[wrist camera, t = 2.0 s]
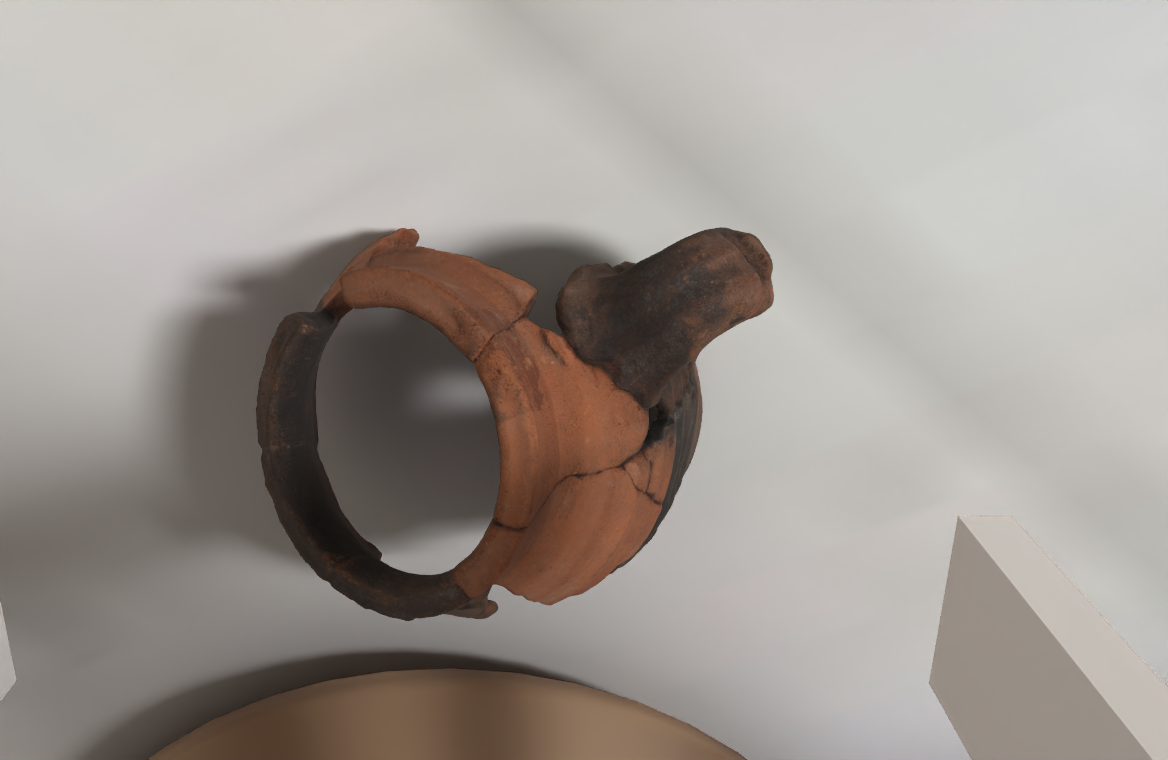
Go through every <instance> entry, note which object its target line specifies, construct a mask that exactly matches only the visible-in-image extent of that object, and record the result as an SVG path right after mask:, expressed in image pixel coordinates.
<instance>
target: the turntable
mask: <svg viewBox="0 0 1168 760" xmlns="http://www.w3.org/2000/svg"><path fill="white" fill-rule="evenodd" d="M148 760H747V759H745V758H744V757H743V756H742V755H740V754H739V753H738V752H736V751H734V750H733V749H731V748H729V747H727V746H726V745H724V744H722V743H721V742H719V741H717V740H715V739H714V738H712V737H710V736H709V735H707V734H705V733H703V732H702V731H700V730H698V729H697V728H695V727H693V726H691V725H690V724H688V723H685V722H683V721H681V720H678V719H676V718H674V717H671V716H669V715H667V714H664V713H662V712H660V711H657V710H655V709H653V708H650V707H648V706H646V705H643V704H641V703H639V702H636V701H633V700H630V699H627V698H623V697H620V696H617V695H613V694H610V693H607V692H603V691H600V690H596V689H593V688H590V687H586V686H583V685H580V684H576V683H570V682H565V681H559V680H553V679H548V678H542V677H537V676H531V675H525V674H520V673H513V672H498V671H483V670H468V669H452V668H449V669H427V670H404V671H386V672H379V673H373V674H367V675H360V676H354V677H347V678H341V679H335V680H328V681H323V682H320V683H316V684H313V685H309V686H305V687H302V688H298V689H295V690H291V691H287V692H284V693H280V694H276V695H273V696H269V697H266V698H264V699H261V700H259V701H256V702H254V703H251V704H249V705H247V706H244V707H242V708H239V709H237V710H234V711H232V712H230V713H227V714H225V715H222V716H220V717H217V718H215V719H213V720H211V721H209V722H207V723H206V724H204V725H202V726H200V727H199V728H197V729H195V730H193V731H192V732H190V733H188V734H186V735H185V736H183V737H181V738H179V739H178V740H176V741H174V742H172V743H171V744H169V745H167V746H165V747H164V748H162V749H161V750H160V751H159V752H157V753H156V754H155V755H153V756H152V757H151V758H150V759H148Z"/></svg>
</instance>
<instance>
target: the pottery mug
mask: <svg viewBox="0 0 1168 760" xmlns="http://www.w3.org/2000/svg"><path fill="white" fill-rule="evenodd" d="M418 240H419V234H418V233H417V231H416V230H415V229H405V228H401V229H398V230H397V231H395V232H393V233H392V234H390V235H389V236H385V237H382V238H381V239H379V240H377V241H375V242H373V243H372V244H371V245H370V246H368V247H367V248H366V249H365V250H363V251H362V252H361V253H360V254H358V255H357V256H356V257H355V258H354V259H353V260H352V261H351V262H350V263H349V265H348V266H347V267H346V268H345V270H344V271H343V272H342V273H341V274H340V275H339V277H338V278H337V280H336V281H335V282H334V284H333V285H332V286H331V287H330V289H329V290H328V292H327V293H326V294H325V295H324V297H323V298H322V299H321V301H320V303H319V304H318V306H317V308H316V310H315V311H314V312H311V313H308V312H298V313H294V314H291V315H288V316H286V317H285V318H284V320H283V321H282V322H281V323H280V325H279V327H278V329H277V332H276V334H275V336H274V338H273V339H272V342H271V344H270V347H269V350H268V352H267V355H266V362H265V365H264V368H263V371H262V375H261V378H260V382H259V390H258V396H257V407H256V415H257V430H258V442H259V444H260V446H261V448H262V455H261V462H262V467H263V471H264V476H265V485H266V487H267V490H268V491H269V494H270V495H271V497H272V499H273V502H274V504H275V508H276V511H277V514H278V517H279V520H280V522H281V524H282V525H283V527H284V529H285V531H286V532H287V534H288V536H289V537H290V539H291V541H292V542H293V544H294V546H295V548H296V549H297V550H298V552H299V554H300V555H301V556H302V557H303V559H304V560H305V562H307V563H308V564H309V565H310V566H311V568H312V569H313V570H314V571H315V572H316V574H317V575H318V576H319V577H320V578H322V579H323V580H325V581H328V582H329V583H330V584H331V586H332V587H333V588H334V589H336V590H337V591H339V592H340V593H342V594H343V595H345V596H346V597H348V598H349V599H351V600H354V601H355V602H356V603H358V604H359V605H360V606H362V607H363V608H365V609H371V610H373V611H376V612H378V613H380V614H383V615H386V616H388V617H392V618H398V619H402V620H405V621H411V620H413V619H415V618H425V617H434V616H438V615H441V614H448V615H454V616H458V617H466V618H475V619H484V618H488V617H489V616H491V615H492V614H494V613H495V612H496V611H497V610H498V605H497V603H496V602H494V601H491V600H488V598H487V597H488V594H489V591H490V589H491V587H492V585H493V584H497V585H500V586H503V587H505V588H506V589H507V590H509V591H510V592H511V593H513V594H514V595H521V596H523V597H525V598H526V599H527V600H530V601H533V602H540V603H542V604H545V605H552V604H554V603H557V602H559V601H561V600H563V599H565V598H567V597H570V596H574V595H579V594H582V593H584V592H586V591H587V590H589V589H590V588H592V587H593V586H595V585H597V584H598V583H599V582H601V581H602V580H603V579H604V578H605V577H606V576H607V575H609V574H611V573H613V572H614V571H616V569H617V568H620V567H622V566H624V565H625V564H626V563H628V562H629V561H630V560H631V559H632V558H633V557H634V556H635V555H636V554H637V553H638V552H639V551H640V550H641V549H642V548H643V547H644V546H645V545H646V544H647V543H648V542H649V541H650V540H651V539H652V537H653V536H654V535H655V533H656V531H657V528H658V526H659V525H660V523H661V522H662V520H663V519H664V518H665V516H666V514H667V513H668V511H669V509H670V507H671V505H672V503H673V501H674V497H675V495H676V493H677V491H678V489H679V487H680V485H681V482H682V478H683V476H684V474H685V472H686V470H687V469H688V467H689V465H690V463H691V460H692V458H693V455H694V452H695V448H696V445H697V442H698V438H699V433H700V428H701V421H702V396H701V389H700V381H699V377H698V371H697V367H696V363H695V361H696V359H697V357H698V355H699V353H700V352H701V350H702V349H703V348H704V347H705V346H706V345H707V344H709V343H710V342H711V341H712V340H713V339H715V338H716V337H717V336H719V335H721V334H723V333H724V332H726V331H727V330H729V329H731V328H732V327H734V326H736V325H738V324H739V323H741V322H744V321H746V320H748V319H751V318H754V317H756V316H758V315H760V314H762V313H763V312H765V311H766V310H767V309H768V308H770V307H771V306H772V304H773V300H774V293H773V286H772V281H771V273H772V269H773V265H772V260H771V258H770V255H769V254H768V252H767V251H766V249H765V248H764V246H763V245H762V243H761V242H760V240H759V239H758V238H757V237H756V236H754V235H752V234H750V233H744V232H740V231H734V230H731V229H728V228H715V229H708V230H704V231H701V232H698V233H695V234H693V235H691V236H689V237H686V238H684V239H682V240H680V241H678V242H676V243H674V244H672V245H670V246H668V247H667V248H665V249H664V250H662V251H660V252H658V253H656V254H654V255H652V256H650V257H648V258H646V259H644V260H642V261H640V262H638V263H636V264H635V263H630V262H623V263H622V264H621V265H616V266H615V267H614V268H613V267H611V266H610V265H609V264H607V263H604V264H599V265H593V266H592V265H583V266H581V267H579V268H577V269H576V270H575V271H574V272H573V273H572V275H571V276H570V278H569V280H568V282H567V284H566V285H565V286H564V287H563V288H562V290H561V291H560V292H559V294H558V298H557V301H556V319H557V322H558V325H559V326H560V328H561V330H562V332H563V334H562V335H559V334H555V333H554V332H552V331H551V330H547V329H542V328H541V327H539V326H538V325H537V324H535V323H533V322H532V321H531V320H529V319H528V313H530V311H531V307H532V306H533V305H534V303H535V301H536V298H537V290H536V288H534V287H533V286H532V285H530V284H529V283H527V282H525V281H523V280H521V279H518V278H516V277H514V276H512V275H510V274H508V273H506V272H504V271H501V270H499V269H497V268H493V267H490V266H488V265H486V264H484V263H483V262H481V261H478V260H476V259H474V258H472V257H467V256H463V255H458V254H452V253H447V252H443V251H436V250H434V249H429V248H424V247H415V246H416V244H417V242H418ZM373 307H388V308H397V309H402V310H405V311H407V312H410V313H412V314H414V315H416V316H418V317H420V318H421V319H423V320H425V321H427V322H429V323H430V324H432V325H433V326H434V327H436V328H437V329H438V330H439V331H440V332H442V333H443V334H444V335H445V336H447V337H448V339H449V340H450V341H451V342H452V343H453V344H455V345H456V346H457V348H458V349H459V350H460V351H461V352H462V353H463V354H464V355H465V356H466V357H467V358H468V359H469V360H470V361H471V362H472V363H474V365H475V367H476V371H477V373H478V376H479V378H480V380H481V382H482V384H483V386H484V388H485V390H486V393H487V395H488V398H489V401H490V405H491V409H492V412H493V415H494V419H495V422H496V427H497V433H498V441H499V445H500V459H501V467H500V486H499V493H498V499H497V503H496V507H495V511H494V516H493V519H492V521H491V523H490V525H489V527H488V528H487V530H486V532H485V534H484V537H483V538H482V540H481V541H480V543H479V544H478V546H477V547H476V548H475V550H474V551H473V552H472V553H471V554H470V555H469V556H468V557H467V558H465V559H464V560H463V561H462V562H460V563H459V564H458V565H457V566H456V567H455V568H454V569H452V570H450V571H448V572H444V573H442V574H437V575H418V574H411V573H406V572H403V571H400V570H397V569H394V568H392V567H390V566H389V565H387V564H385V563H384V562H382V561H380V559H381V557H382V553H381V552H380V551H379V550H378V549H377V548H376V547H375V546H374V545H373V544H371V543H370V542H368V541H366V540H365V539H364V538H363V537H361V536H360V534H359V533H358V532H357V531H356V530H355V529H354V528H353V526H352V525H351V524H350V522H349V520H348V519H347V518H346V517H345V515H344V514H343V512H342V511H341V509H340V507H339V504H338V501H337V499H336V497H335V495H334V492H333V490H332V487H331V484H330V482H329V479H328V477H327V474H326V472H325V470H324V467H323V464H322V462H321V460H320V458H319V455H318V451H317V445H318V429H317V417H316V398H315V390H316V376H317V369H318V364H319V361H320V358H321V354H322V352H323V350H324V347H325V345H326V343H327V341H328V340H329V338H330V336H331V334H332V333H333V331H334V330H335V328H336V327H337V325H338V323H339V322H340V320H341V319H342V318H343V317H344V316H345V314H346V313H348V312H349V311H350V310H352V309H353V308H354V309H364V308H373ZM653 406H656V407H657V408H658V410H659V414H658V420H657V421H655V422H654V424H653V425H652V427H651V428H650V430H648V427H649V409H650V408H651V407H653Z"/></svg>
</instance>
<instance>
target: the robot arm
mask: <svg viewBox="0 0 1168 760" xmlns="http://www.w3.org/2000/svg"><path fill="white" fill-rule="evenodd" d="M15 682H16V676H15V671H14V666H13V661H12V656H11V651H10V646H9V641H8V636H7V631H6V626H5V621H4V616H3V611H2V606H1V601H0V701H1V700H2V699H3V697H4V696H5V695H6V694H7V692H8V691H9V690H10V689H11V687H12V686H13V685H14V684H15ZM929 684H930V686H931V687H932V689H933V691H934V693H935V695H936V696H937V698H938V700H939V702H940V704H941V705H942V707H943V709H944V711H945V713H946V714H947V716H948V718H949V720H950V722H951V723H952V725H953V727H954V729H955V730H956V732H957V734H958V736H959V738H960V739H961V741H962V743H963V745H964V747H965V748H966V750H967V752H968V754H969V756H970V757H971V759H972V760H1168V687H1167V686H1166V685H1165V684H1164V683H1163V682H1162V681H1161V680H1160V678H1159V677H1158V676H1157V675H1156V674H1155V673H1154V672H1153V671H1152V670H1151V669H1150V667H1149V666H1148V665H1147V664H1146V663H1145V662H1144V661H1143V660H1142V659H1141V657H1140V656H1139V655H1138V654H1137V653H1136V652H1135V651H1134V650H1133V649H1132V648H1131V646H1130V645H1129V644H1128V643H1127V642H1126V641H1125V640H1124V639H1123V638H1122V636H1121V635H1120V634H1119V633H1118V632H1117V631H1116V630H1115V629H1114V628H1113V627H1112V625H1111V624H1110V623H1109V622H1108V621H1107V620H1106V619H1105V618H1104V617H1103V615H1102V614H1101V613H1100V612H1099V611H1098V610H1097V609H1096V608H1095V607H1094V605H1093V604H1092V603H1091V602H1090V601H1089V600H1088V599H1087V598H1086V597H1085V596H1084V594H1083V593H1082V592H1081V591H1080V590H1079V589H1078V588H1077V587H1076V586H1075V584H1074V583H1073V582H1072V581H1071V580H1070V579H1069V578H1068V577H1067V576H1066V575H1065V573H1064V572H1063V571H1062V570H1061V569H1060V568H1059V567H1058V566H1057V565H1056V563H1055V562H1054V561H1053V560H1052V559H1051V558H1050V557H1049V556H1048V555H1047V553H1046V552H1045V551H1044V550H1043V549H1042V548H1041V547H1040V546H1039V545H1038V544H1037V542H1036V541H1035V540H1034V539H1033V538H1032V537H1031V536H1030V535H1029V534H1028V532H1027V531H1026V530H1025V529H1024V528H1023V527H1022V526H1021V525H1020V524H1019V523H1018V521H1017V520H1016V519H1015V518H1014V517H1013V516H958V520H957V525H956V531H955V537H954V543H953V548H952V554H951V560H950V566H949V571H948V577H947V583H946V589H945V594H944V600H943V606H942V612H941V617H940V623H939V629H938V635H937V640H936V646H935V652H934V658H933V663H932V669H931V675H930V681H929Z"/></svg>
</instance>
